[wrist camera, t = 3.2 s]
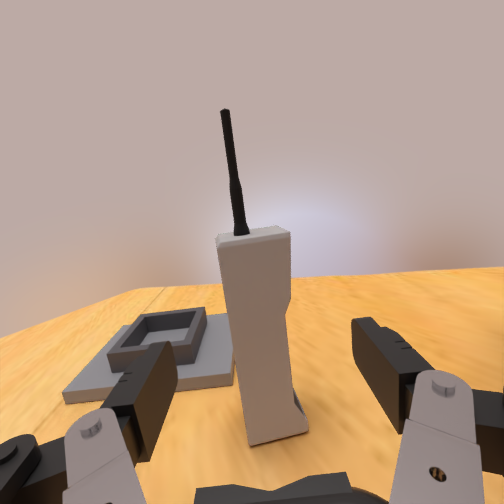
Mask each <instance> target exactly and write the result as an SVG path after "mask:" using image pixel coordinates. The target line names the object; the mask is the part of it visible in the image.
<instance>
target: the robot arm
mask: <svg viewBox="0 0 504 504" xmlns="http://www.w3.org/2000/svg"><path fill="white" fill-rule="evenodd" d="M351 329H352V351H353V357H354V360H355V363H356V365H357V367H358V369H359V370H360V372H361V374H362V375H363V377H364V379H365V380H366V382H367V383H368V385H369V387H370V388H371V390H372V392H373V393H374V395H375V397H376V398H377V400H378V402H379V403H380V405H381V407H382V408H383V410H384V412H385V413H386V415H387V416H388V418H389V420H390V421H391V423H392V425H393V426H394V428H395V430H396V431H397V433H398V435H399V434H403V435H402V440H401V445H400V450H399V455H398V460H397V465H396V470H395V475H394V480H393V485H392V491H391V496H390V501H389V502H388V501H386V500H385V499H383V498H381V497H379V496H377V495H375V494H373V493H371V492H369V491H366V490H363V489H360V488H356V487H351V485H350V482H349V480H348V477H347V474H346V472H339V473H330V474H321V475H312V476H307V477H305V478H303V479H300V480H298V481H295V482H293V483H291V484H288V485H286V486H284V487H281V488H279V489H276V490H274V491H266V490H261V489H255V488H250V487H245V486H239V485H234V484H231V485H222V486H213V487H204V488H196V493H195V499H194V504H485V502H484V490H483V477H482V471H485V472H490V473H495V474H499V475H502V476H503V477H504V388H503V393H499V392H491V391H482V390H475V389H471V388H470V386H469V385H468V384H467V383H466V382H465V381H463V380H462V379H460V378H459V377H457V376H455V375H453V374H450V373H447V372H444V371H439V370H435V369H434V368H433V367H432V366H431V365H430V364H429V363H428V362H427V361H426V360H425V359H424V358H423V357H422V356H421V355H420V354H419V353H418V352H417V351H416V350H415V349H412V346H411V345H410V344H408V343H407V342H406V341H405V340H404V339H403V338H402V337H401V336H400V335H399V334H398V333H397V332H395V331H393V330H391V329H389V328H387V327H380V326H379V325H378V324H377V323H376V322H375V321H374V320H373V318H371V317H363V318H355V319H352V322H351ZM177 383H178V371H177V367H176V362H175V358H174V353H173V349H172V345H171V342H170V341H162V342H153V343H151V344H150V345H149V347H148V349H147V350H146V352H145V353H144V355H143V356H139V357H137V358H136V359H135V360H134V361H133V362H131V363H130V364H129V366H128V367H127V368H126V370H125V371H124V373H123V375H122V376H121V377H120V379H119V380H118V383H116V385H115V386H114V388H113V389H112V391H111V392H110V394H109V395H108V397H107V398H106V400H105V401H104V402H103V404H102V405H101V407H100V408H99V409H97V410H94V411H91V412H89V413H87V414H86V415H84V416H82V417H81V418H79V419H78V420H77V421H76V422H75V423H74V424H73V425H72V426H71V427H70V428H69V429H68V431H67V433H66V435H65V436H64V437H61V438H58V439H56V440H53V441H50V442H47V443H45V444H42V445H39V446H38V444H37V441H36V439H35V437H34V436H33V435H31V434H24V435H20V436H17V437H14V438H12V439H9V440H8V441H6V442H4V443H2V444H0V504H147V503H146V500H145V498H144V495H143V492H142V489H141V486H140V483H139V480H138V477H137V474H136V471H135V469H134V468H135V466H136V464H137V463H141V462H150V459H151V456H152V453H153V451H154V448H155V445H156V442H157V440H158V437H159V434H160V431H161V429H162V426H163V423H164V420H165V417H166V415H167V412H168V409H169V406H170V404H171V401H172V398H173V395H174V393H175V390H176V387H177Z"/></svg>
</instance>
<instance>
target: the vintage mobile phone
mask: <svg viewBox="0 0 504 504" xmlns="http://www.w3.org/2000/svg"><path fill="white" fill-rule="evenodd" d="M220 113H221V120H222V127H223V134H224V140H225V148H226V156H227V162H228V170H229V177H230V196H231V203H232V210H233V217H234V232H230V233H223V234H218V236H217V238H216V247H217V253H218V259H219V265H220V271H221V277H222V284H223V290H224V296H225V302H226V308H227V314H228V321H229V327H230V333H231V339H232V345H233V351H234V358H235V364H236V370H237V376H238V382H239V388H240V394H241V401H242V407H243V413H244V419H245V425H246V431H247V438H248V444H249V445H250V446H253V445H257V444H261V443H265V442H269V441H273V440H277V439H281V438H284V437H288V436H292V435H296V434H300V433H304V432H306V431H308V430H309V428H308V420H307V418H306V415H305V413H304V411H303V408H302V406H301V404H300V402H299V399H298V397H297V395H296V392H295V390H294V388H293V385H292V376H291V367H290V357H289V348H288V338H287V329H286V320H285V313H286V311H287V308H288V305H289V302H290V299H291V255H290V254H291V249H290V245H291V244H290V232H289V231H287V230H285V229H283V228H281V227H279V226H270V227H264V228H258V229H250V230H249V228H248V226H247V223H246V218H245V211H244V203H243V195H242V188H241V184H240V181H239V178H238V171H237V163H236V157H235V156H236V155H235V148H234V141H233V133H232V126H231V118H230V111H229V110H228V109H223V110H221V111H220Z"/></svg>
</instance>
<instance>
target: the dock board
mask: <svg viewBox="0 0 504 504" xmlns="http://www.w3.org/2000/svg"><path fill="white" fill-rule="evenodd" d="M162 341H170V342H171V345H172V349H173V353H174V358H175V362H176V367H177V371H178V383H177V387H176V390H175V392H177V391H186V390H194V389H203V388H212V387H221V386H229V385H232V384H233V373H234V361H235V358H234V351H233V345H232V339H231V333H230V327H229V321H228V314H227V313H223V314H215V315H207V316H206V311H205V307H198V308H190V309H182V310H174V311H165V312H157V313H149V314H141V315H140V316H139V317H138V318H137V319H136V320H135V322H134V323H133V324H132V325H123V326H122V328H121V329H120V330H119V331H118V332H117V333H116V334H115V335H114V336H113V337H112V338H111V339H110V341H109V342H108V343H107V344H106V345H105V346H104V347H103V348H102V349H101V350H100V351H99V352H98V354H97V355H96V356H95V357H94V358H93V359H92V360H91V361H90V362H89V363H88V364H87V366H86V367H85V368H84V369H83V370H82V371H81V372H80V373H79V374H78V375H77V376H76V377H75V379H74V380H73V381H72V382H71V383H70V384H69V385H68V386H67V387H66V388H65V389H64V390H63V392H62V395H63V397H64V400H65V403H66V404H72V403H80V402H89V401H98V400H106V398H107V397H108V395H109V394H110V392H111V391H112V389H113V388H114V386H115V385H116V383H118V380H119V379H120V377H121V376H122V375H123V373H124V371H125V370H126V368H127V367H128V366H129V364H130V363H131V362H133V361H134V360H135V359H136V358H137V357H139V356H143V355H144V353H145V352H146V350H147V349H148V347H149V345H150V344H151V343H153V342H162Z"/></svg>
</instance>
